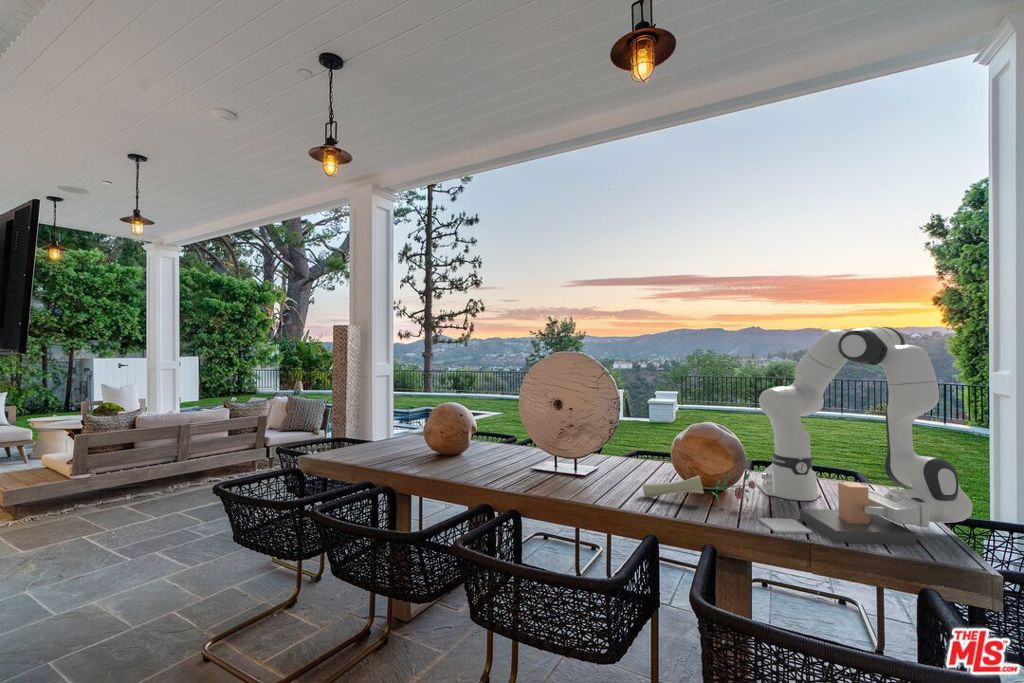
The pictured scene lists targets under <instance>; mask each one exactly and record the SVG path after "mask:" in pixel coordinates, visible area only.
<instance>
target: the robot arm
mask: <svg viewBox="0 0 1024 683" xmlns="http://www.w3.org/2000/svg"><path fill="white" fill-rule="evenodd" d="M848 361H850V362H853V363H857V364H862V365H863V364H864V365H869V366H879V367H881V368H882V369H883V370H884V373H885V377H886V382H887V388H888V403H887V406H886V408H885V431H886V444H887V445H886V446H887V447H886V448H887V449H886V450H887V453H886V458H885V462H884V463H885V464H884V468H885V474H886V475H887V477H888V478H889V480H891V482H892V483H893V484H895V485H897V486H899V487H904V488H892V489H890V490H888V492H887V493H885V494H884V493H881V492H880V491H876V490H872V489H868V500H869V506H862V511H863V512H864V513H866V514H874V515H879V516H881V517H883V518H885V519H887V520H889V521H892V522H894V523H896V524H899V525H909V526H917V527H920V528H929V527H930V523H935V524H936V523H937V524H939V523H940V524H946V523H947V524H949V523H958V522H963V521H965V520H967V519H968V518H970V517H971V515H972V513H973V502H972V500H971V498H969V496H968V495H967V494H966V493H965V492H964V491H963V490H962V488H961V485H960V483H959V474H958V471H957V469H956V468H955V466H954V465H953V464H952V463H951V462H949V461H948V460H946V459H944V458H939V457H932V456H925V455H919V454H917V453H916V452H915V450H914V438H913V437H914V436H913V424H914V422H915V421H916V419H917V418H918V417H920V416H923V415H924V414H926V413H928V412H930V411H931V410H933V409H934V408H935V407H936V406H937V405H938V404H939V400H940V388H939V384H938V380H937V376H936V372H935V368H934V366H933V363H932V360H931V358H930V356H929V355H928V352H927V350H926V349H924V348H923V347H921V346H918V345H914V344H906V341H905V338H904V336H903V335H902V334H901V333H900V331H898V330H896V329H895V328H892V327H887V326H867V327H858V328H856V327H855V328H852V329H850V330H848V331H846V330H842V329H839V328H832V329H829V330H827V331H824V333H823V334H821V335H820V336H819V337H818V338H817V339H816V340H815V341H814V343H813V344H812V345H811V346H810V347H809V349H808V350H807V351H806V353H805V354H804V355H803V356H802V358H800V361H799V362H798V364H797V365H796V366H795V368H794V372H795V378H794V381H793V382H792V383H791V384H790V385H783V386H782V385H781V386H773V387H770V388H767V389H765V390H763V391H762V392H761V394H760V395H759V397H758V405H759V408H760V410H761V411H762V412H763V413H764V414H765V415H766V416H767V417H768V419H769V421H770V424H771V427H772V431H773V439H774V440H773V441H774V444H773V445H774V452H773V453H772V456H771V457H772V459H771V460H772V461H771V464H770V465H769V466H767V467H766V468H765V469H763V472H762V473H761V476H760V477H761V479H762V480H761V481H756V483H755V484H757V485H756V486H757V487H758V488H759V489H760V490H761V491H762V492H763V493H764V495H766V496H773V497H778V498H781V499H786V500H792V501H801V502H802V501H808V502H809V501H815V500H818V498H820V497H822V493H821V492H819V490H818V489H819V488H818V483H817V482H818V481H817V473H816V472H815V471H814V470H813V462H814V461H813V457H812V456H811V455H812V454H811V435H810V432H808V431H807V430H806V429H805V428H804V426H803V423H802V419H801V417H806V416H810V415H813V414H816V413H819V412H820V411H821V410H823V407H824V405H825V404H824V403H825V401H824V394H825V392H826V390H827V388H828V386H829V384H830V383H831V381H833V379H834V378H835V377H836V376H837V375H838V373H839V372H840V371H841V370H842V368H843V367H844V366H845V364H846V363H847V362H848Z"/></svg>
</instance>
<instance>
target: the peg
mask: <svg viewBox="0 0 1024 683" xmlns="http://www.w3.org/2000/svg"><path fill="white" fill-rule="evenodd" d="M837 490H838V492H837V493H838V510H839V518H840V519H842V520H844V521H846V522H847V523H849V524H869V514H866V513H864V512H863V511H862V506H869V500H868V490H869V487H868V486H866V485H863V484H860V483H859V482H850V481H849V482H846V481H845V482H842V481H838V483H837Z"/></svg>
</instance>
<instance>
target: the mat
mask: <svg viewBox="0 0 1024 683" xmlns="http://www.w3.org/2000/svg"><path fill="white" fill-rule="evenodd" d="M758 521H759V522H760V523H762V524H763V525H764V526H766V527H767V528H768V529H770V530H771V531H773V532H774V533H777V534H778V533H780V534H783V533H784V534H813V531H812V529H810V528H808V527H806V526H805V525H804V524H802V523H800V522H799V521H797V520H796V519H793V518H773V517H772V518H771V517H770V518H767V517H765V518H764V517H758Z"/></svg>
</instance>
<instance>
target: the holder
mask: <svg viewBox="0 0 1024 683" xmlns="http://www.w3.org/2000/svg"><path fill="white" fill-rule="evenodd" d="M799 520H801V521H802V522H804V523H806V524H807V525H809V526H811V527H812V528H814V529H815V530H817V531H818V532H820V533H821V534H823V535H824V536H826V537H828V538H830V539H831V540H833V541H834V542H836V543H843V544H844V543H846V544H847V543H849V544H850V543H851V544H881V545H885V544H886V545H911V544H914V545H917V532H915V531H913V530H911V529H909V528H906V527H905V526H902V525H901V524H899V523H896V522H893V521H891V520H889V519H887V518H885V517H883V516H879V515H874V514H869V524H849V523H847V522H846V521H844V520H842V519H840V518H839V509H817V508H816V509H812V508H800V509H799Z"/></svg>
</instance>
